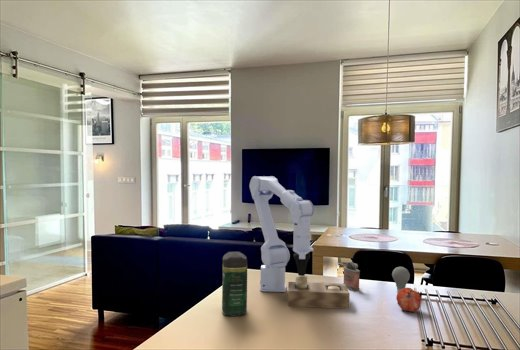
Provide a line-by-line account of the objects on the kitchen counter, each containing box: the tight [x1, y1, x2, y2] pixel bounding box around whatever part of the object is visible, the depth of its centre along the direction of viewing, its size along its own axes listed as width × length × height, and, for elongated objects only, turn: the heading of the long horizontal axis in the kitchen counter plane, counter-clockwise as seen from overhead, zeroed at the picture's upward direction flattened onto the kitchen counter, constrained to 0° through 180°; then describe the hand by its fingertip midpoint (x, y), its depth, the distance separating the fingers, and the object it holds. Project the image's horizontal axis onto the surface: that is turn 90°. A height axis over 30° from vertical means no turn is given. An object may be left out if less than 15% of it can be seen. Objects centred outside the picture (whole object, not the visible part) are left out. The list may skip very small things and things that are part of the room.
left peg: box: [295, 274, 308, 289], centre depth 122 cm, size 4×4×5 cm
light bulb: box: [391, 266, 411, 293], centre depth 130 cm, size 6×6×10 cm
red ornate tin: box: [342, 261, 361, 292], centre depth 136 cm, size 8×3×10 cm, turn 25°
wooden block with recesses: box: [287, 281, 351, 309], centre depth 121 cm, size 20×10×5 cm, turn 85°
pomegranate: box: [396, 287, 422, 313], centre depth 115 cm, size 7×7×10 cm
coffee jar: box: [221, 251, 248, 317], centre depth 113 cm, size 10×8×19 cm
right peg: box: [328, 286, 340, 290], centre depth 121 cm, size 4×4×5 cm
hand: (301, 275), depth 122 cm, fingers closed
